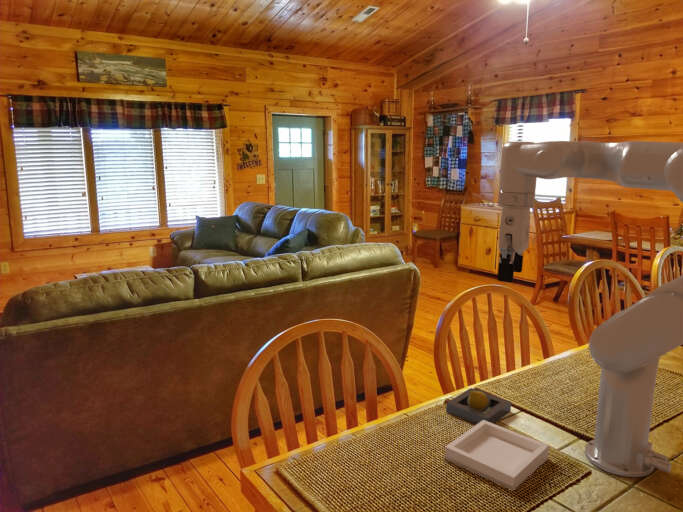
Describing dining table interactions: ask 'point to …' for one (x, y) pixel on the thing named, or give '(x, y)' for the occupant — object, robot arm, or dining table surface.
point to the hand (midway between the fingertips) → (509, 276)
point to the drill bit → (478, 400)
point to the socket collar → (462, 411)
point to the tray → (497, 454)
